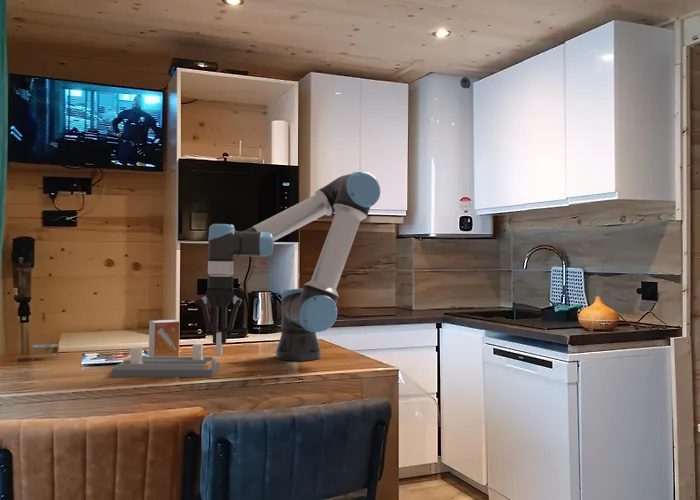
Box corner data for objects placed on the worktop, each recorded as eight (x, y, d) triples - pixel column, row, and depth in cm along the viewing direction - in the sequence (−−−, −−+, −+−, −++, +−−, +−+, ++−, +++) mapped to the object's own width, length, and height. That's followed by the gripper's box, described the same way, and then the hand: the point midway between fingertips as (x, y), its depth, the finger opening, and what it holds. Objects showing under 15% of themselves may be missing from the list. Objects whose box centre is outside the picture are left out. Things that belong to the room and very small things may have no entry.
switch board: (219, 368, 189) (219, 356, 189) (211, 376, 176) (211, 364, 176) (126, 368, 188) (126, 356, 188) (111, 376, 175) (111, 364, 175)
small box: (154, 363, 195) (154, 322, 196) (148, 360, 201) (148, 320, 201) (179, 361, 200) (179, 321, 200) (173, 358, 205) (173, 319, 205)
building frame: (31, 358, 204) (31, 340, 204) (58, 356, 207) (58, 339, 207) (31, 361, 198) (31, 342, 198) (58, 359, 202) (59, 341, 202)
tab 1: (143, 365, 179) (143, 346, 179) (139, 367, 176) (140, 348, 176) (132, 365, 179) (132, 346, 179) (129, 367, 176) (129, 348, 176)
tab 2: (203, 361, 187) (204, 343, 187) (201, 363, 184) (201, 345, 184) (193, 361, 187) (194, 343, 187) (191, 363, 184) (191, 345, 184)
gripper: (244, 275, 190) (242, 352, 190) (201, 274, 189) (199, 352, 189) (240, 276, 182) (239, 356, 182) (196, 275, 182) (194, 356, 182)
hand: (219, 354), depth 186 cm, fingers closed
